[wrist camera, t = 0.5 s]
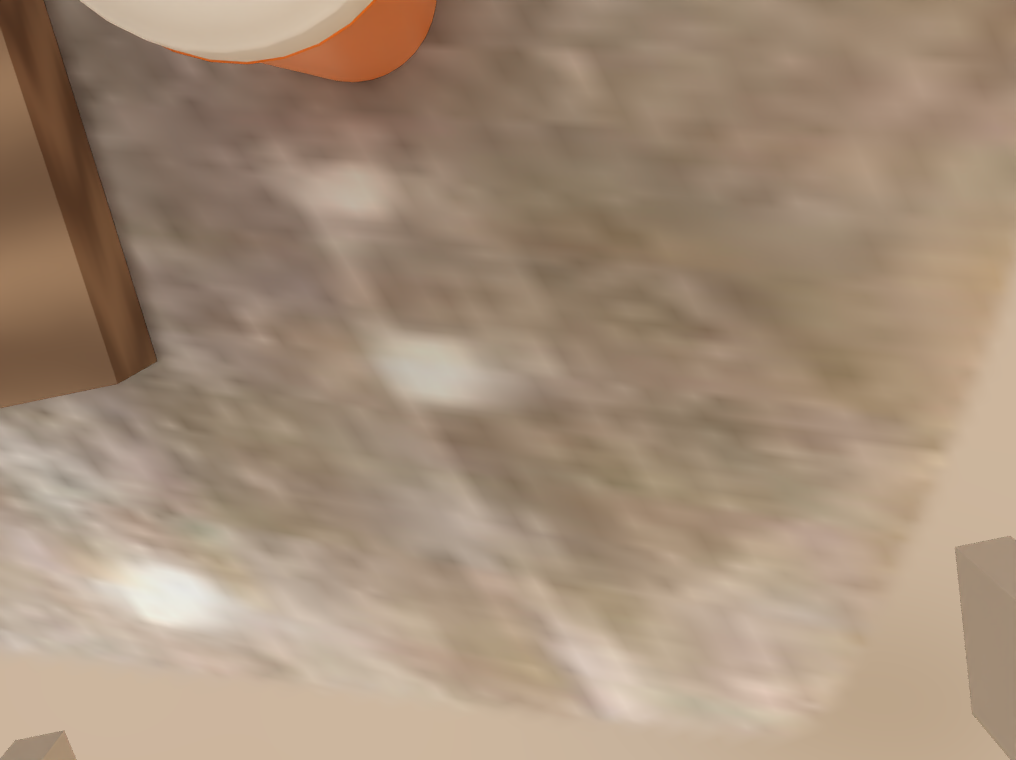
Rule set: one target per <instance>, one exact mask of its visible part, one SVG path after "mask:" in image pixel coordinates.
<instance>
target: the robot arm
mask: <svg viewBox="0 0 1016 760" xmlns="http://www.w3.org/2000/svg"><path fill="white" fill-rule="evenodd" d="M955 553H956V562H957V572H958V581H959V591H960V601H961V611H962V620H963V630H964V640H965V650H966V659H967V669H968V679H969V689H970V698H971V708H972V714H973V715H974V717H975V718H976V719H977V720H978V722H979V723H980V724H981V725H982V726H983V727H984V729H985V730H986V731H987V732H988V733H989V735H990V736H991V737H992V738H993V739H994V741H995V742H996V743H997V744H998V745H999V747H1000V748H1001V749H1002V750H1003V751H1004V753H1005V754H1006V755H1007V756H1008V757H1009V758H1010V760H1016V540H1015V539H1014V538H1012V537H1011V536H1007V537H1002V538H997V539H992V540H988V541H982V542H978V543H973V544H968V545H963V546H958V547H955ZM0 760H76V758H75V755H74V753H73V750H72V748H71V746H70V744H69V741H68V738H67V736H66V734H65V731H59V732H54V733H50V734H45V735H40V736H35V737H30V738H25V739H20V740H15V741H14V743H13V744H12V745H11V746H10V747H9V749H8V750H7V751H6V752H5V754H4V755H3V756H2V757H1V758H0Z"/></svg>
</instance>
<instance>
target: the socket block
mask: <svg viewBox="0 0 1016 760" xmlns="http://www.w3.org/2000/svg"><path fill="white" fill-rule="evenodd" d="M155 362H157V359H156V356H155V352H154V349H153V346H152V343H151V340H150V337H149V333H148V330H147V327H146V324H145V321H144V318H143V314H142V311H141V308H140V305H139V302H138V299H137V295H136V292H135V289H134V286H133V283H132V280H131V276H130V273H129V270H128V267H127V264H126V261H125V257H124V254H123V251H122V248H121V245H120V241H119V238H118V235H117V232H116V229H115V226H114V222H113V219H112V216H111V213H110V210H109V207H108V203H107V200H106V197H105V194H104V191H103V188H102V184H101V181H100V178H99V175H98V172H97V169H96V165H95V162H94V159H93V156H92V153H91V150H90V146H89V143H88V140H87V137H86V134H85V130H84V127H83V124H82V121H81V118H80V115H79V111H78V108H77V105H76V102H75V99H74V96H73V92H72V89H71V86H70V83H69V80H68V77H67V73H66V70H65V67H64V64H63V61H62V58H61V54H60V51H59V48H58V45H57V42H56V38H55V35H54V32H53V29H52V26H51V23H50V19H49V16H48V13H47V10H46V7H45V4H44V0H0V408H3V407H8V406H13V405H18V404H23V403H27V402H32V401H37V400H42V399H47V398H52V397H56V396H61V395H66V394H71V393H76V392H81V391H86V390H90V389H95V388H100V387H105V386H110V385H115V384H118V383H120V382H122V381H124V380H125V379H127V378H129V377H131V376H132V375H134V374H136V373H138V372H139V371H141V370H143V369H145V368H146V367H148V366H150V365H152V364H153V363H155Z"/></svg>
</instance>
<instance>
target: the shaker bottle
mask: <svg viewBox="0 0 1016 760" xmlns="http://www.w3.org/2000/svg"><path fill="white" fill-rule="evenodd" d="M80 1H81V2H82V3H84V4H85V5H86V6H88V7H89V8H90V9H92V10H93V11H94V12H96V13H97V14H98V15H100V16H101V17H102V18H104V19H105V20H106V21H108V22H110V23H112V24H114V25H116V26H118V27H120V28H122V29H124V30H126V31H128V32H130V33H132V34H134V35H136V36H138V37H140V38H142V39H144V40H147V41H149V42H152V43H155V44H158V45H161V46H163V47H165V48H167V49H169V50H171V51H173V52H176V53H180V54H183V55H187V56H191V57H194V58H198V59H202V60H206V61H209V62H220V63H236V64H254V63H264V64H268V65H272V66H276V67H281V68H285V69H289V70H293V71H298V72H302V73H306V74H310V75H314V76H319V77H323V78H327V79H331V80H335V81H344V82H360V81H367V80H373V79H375V78H378V77H381V76H384V75H386V74H389V73H390V72H392V71H393V70H395V69H397V68H398V67H400V66H401V65H403V64H404V63H405V62H406V61H407V60H408V59H409V58H410V57H411V56H412V55H413V54H414V53H415V52H416V50H417V49H418V48H419V46H420V45H421V43H422V42H423V40H424V39H425V37H426V35H427V32H428V30H429V28H430V25H431V23H432V20H433V16H434V11H435V7H436V0H80Z"/></svg>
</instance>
